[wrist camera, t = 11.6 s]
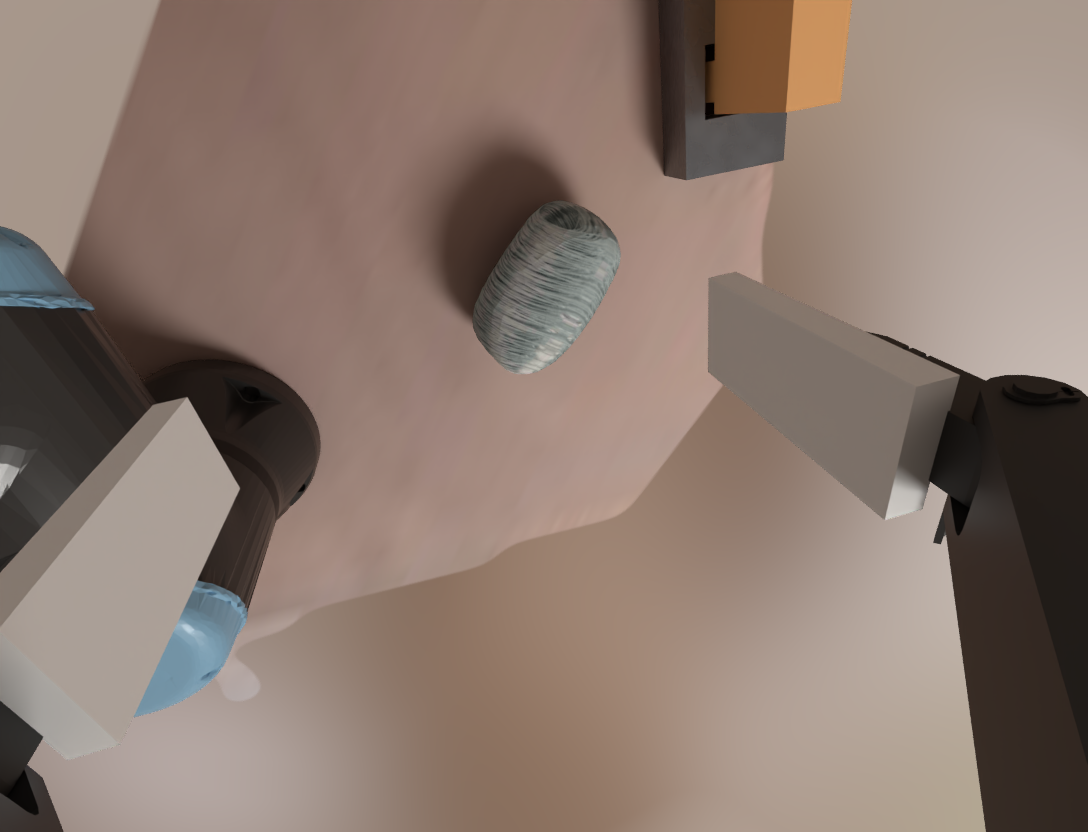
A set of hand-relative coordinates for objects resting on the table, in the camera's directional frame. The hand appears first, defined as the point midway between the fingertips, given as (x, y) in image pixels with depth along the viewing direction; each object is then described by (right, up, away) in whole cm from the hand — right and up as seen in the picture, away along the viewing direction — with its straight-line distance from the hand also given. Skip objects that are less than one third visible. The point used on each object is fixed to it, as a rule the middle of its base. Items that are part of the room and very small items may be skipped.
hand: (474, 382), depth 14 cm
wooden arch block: (+14, +28, +24) cm, 40 cm away
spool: (+1, +11, +32) cm, 33 cm away
